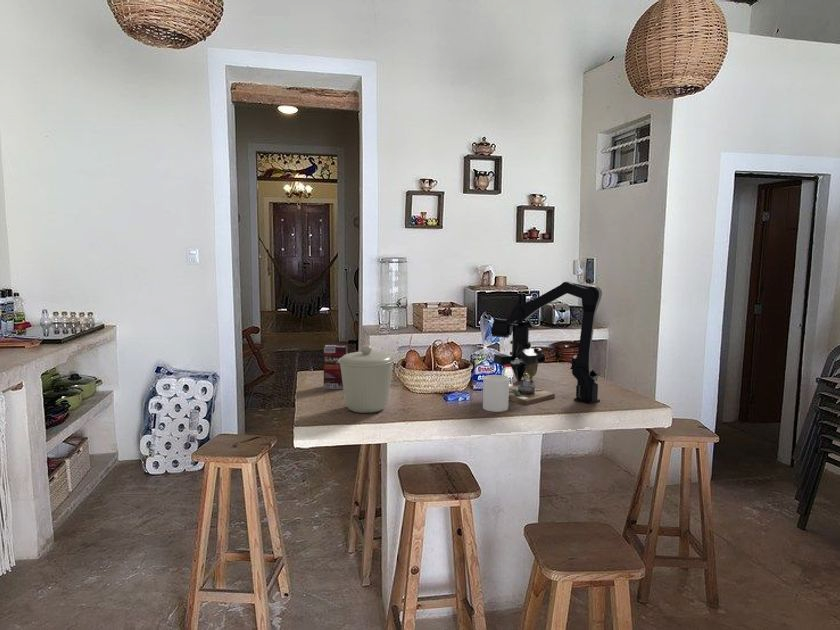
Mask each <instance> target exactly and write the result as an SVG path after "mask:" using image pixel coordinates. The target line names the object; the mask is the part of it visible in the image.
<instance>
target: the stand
mask: <svg viewBox="0 0 840 630" xmlns="http://www.w3.org/2000/svg"><path fill="white" fill-rule="evenodd" d="M555 398H556V393H554V392H550V391H548V390H547V391H546V390H544V389H543V388H536V387H535V393H533V394H522V393H520V392H518V385H516V386H512V387H511V386H510V387H509V398H508V401H511V402H513V403H514V402H515V403H519V404H521V405H525V406H527V405H530V404H535V403H540V402H543V401H547V400H551V399H555Z"/></svg>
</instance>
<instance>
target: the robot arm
mask: <svg viewBox="0 0 840 630" xmlns="http://www.w3.org/2000/svg"><path fill="white" fill-rule="evenodd" d="M567 294H568V295H571V296H573V297H576V298H580V299H581V306H582V312H583V314H582V322H581V329H580V337H579V343H578V351H577V354H575V355H573V356H572V357H571V366H570V369H569V370H571V374H572V376H573V377H574V378H575V379H576V381H577V385H576V386H575V388H576V389H575V397H574V398H573V400H575V401H577V402H581V403H586V404H593V403H597V402H600V401H601V399H599V398H598V395H599V394H598V393H599V384H598V383H597V380H598V378H599V374H597V373H596V371H595V370H594V369H593V359H592V353H591V352H592V344H593V336H594V328H595V320H596V314H597V310H598V308H599V305H600V302H601V299H602V295H603V291H602V289H601V287H599V286H598V285H595V284H592V285H584V284H579V283H575V282H572V281H570V280H566V281H563V282H562V283H561V284H560V285H557V286H556V287H553V288H552V289H551V290H549V291H546V292H545V293H543V294H541V295H540V296H538V297H536V298H534V299H532V300H528V301H526V302H523V303H520V304H517V305H515V306H513V307H512V310H511V314H510V316H509V317H508V318H507V319H505V318H499V317H498V318H497V317H495V318H494V319H493V322H492V325H491V329H490V332H491V333H490V335H491V336H492V337H494V338H504V339H509V337H510V336H511V337H512V340H509V341H510V342H509V343H510V344H511V351H509V355H508V354H504V353H498V354H497V353H496V354H494V356H493V363H496V364H498V365H500V366H505V365H506V366H507V365H510V367H511V369H512V372H513V373H514V377H515V379H516V381H517V382H519V383H520V382H521V381H522V379H523V378H522V376H523V374H524V372H525V370H526V368H527V367H528V366H529V365H531V364H532V363H536V360H537V362H538V363H544V362H546V359H547V358H546V355H545V353H542V349H541V348H540V347H537V348H532V347H531V345H532V344H531V342H529V338H530V337H529V335H530V333H529V332H530V329H531V328H534V327H536V325H535V324H534V322H532V320H528V321H527V322H525V320H527V319H529V318H530V317H531V316H533V315H534V314H535V313H536V312H537V311H539V310H540V309H542V308H543V307H545V306H546V305H548V304H550V303H552V302H554V301H556V300H558V299H559V298H561V297H563V296H564V295H567ZM517 322H518V323H517Z"/></svg>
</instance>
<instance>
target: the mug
mask: <svg viewBox="0 0 840 630" xmlns="http://www.w3.org/2000/svg"><path fill="white" fill-rule="evenodd" d="M482 378H483V382H482V408H483V410H485V411H487V412H493V413H498V412H499V413H501V412H507V410H509V400H508V398H509V388H510V387H509V386H510V385H509V384H510V377H508V376H507V375H501V374H489V375H488V374H487V375H485V376H483V377H482Z"/></svg>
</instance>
